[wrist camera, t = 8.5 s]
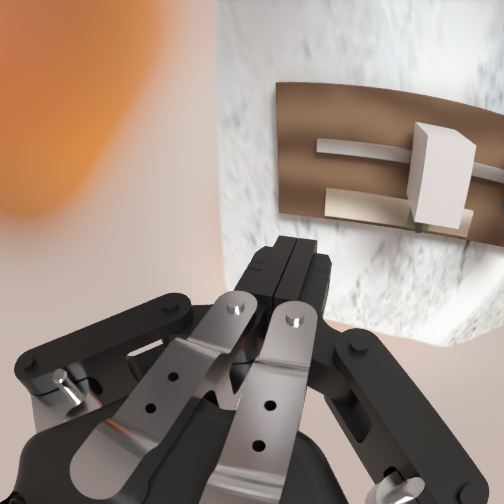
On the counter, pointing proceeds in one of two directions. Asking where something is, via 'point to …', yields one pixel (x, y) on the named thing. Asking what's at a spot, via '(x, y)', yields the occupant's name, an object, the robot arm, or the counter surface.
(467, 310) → the counter surface
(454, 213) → the block
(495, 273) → the counter surface
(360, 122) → the base
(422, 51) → the counter surface
